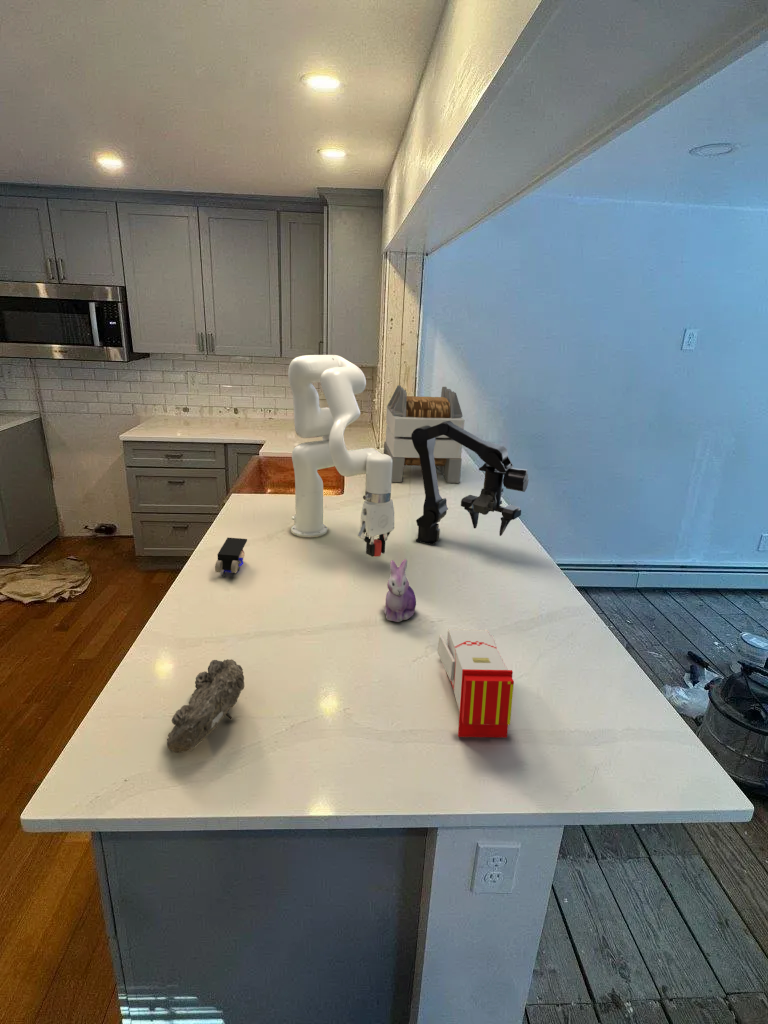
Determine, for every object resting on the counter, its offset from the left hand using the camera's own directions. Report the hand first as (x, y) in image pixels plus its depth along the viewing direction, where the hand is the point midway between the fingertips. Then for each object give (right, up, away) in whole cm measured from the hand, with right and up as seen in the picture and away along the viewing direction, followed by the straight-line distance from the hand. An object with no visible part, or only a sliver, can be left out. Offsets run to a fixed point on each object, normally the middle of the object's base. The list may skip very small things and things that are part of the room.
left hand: (375, 552), depth 172 cm
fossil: (-30, -27, -64) cm, 76 cm away
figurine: (+7, -14, -25) cm, 29 cm away
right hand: (+36, +6, +11) cm, 38 cm away
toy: (+21, -25, -54) cm, 63 cm away
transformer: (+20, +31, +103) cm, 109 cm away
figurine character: (-42, -5, -5) cm, 43 cm away
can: (0, 0, 0) cm, 0 cm away
